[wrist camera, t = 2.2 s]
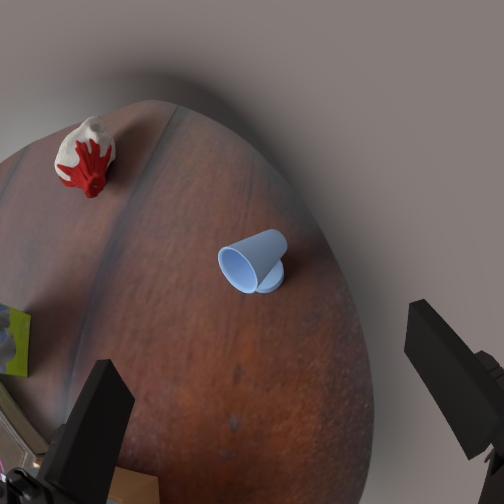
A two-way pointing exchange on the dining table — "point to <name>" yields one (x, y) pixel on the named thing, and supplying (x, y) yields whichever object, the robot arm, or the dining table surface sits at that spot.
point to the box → (14, 341)
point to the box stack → (122, 486)
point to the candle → (86, 157)
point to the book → (18, 436)
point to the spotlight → (255, 262)
